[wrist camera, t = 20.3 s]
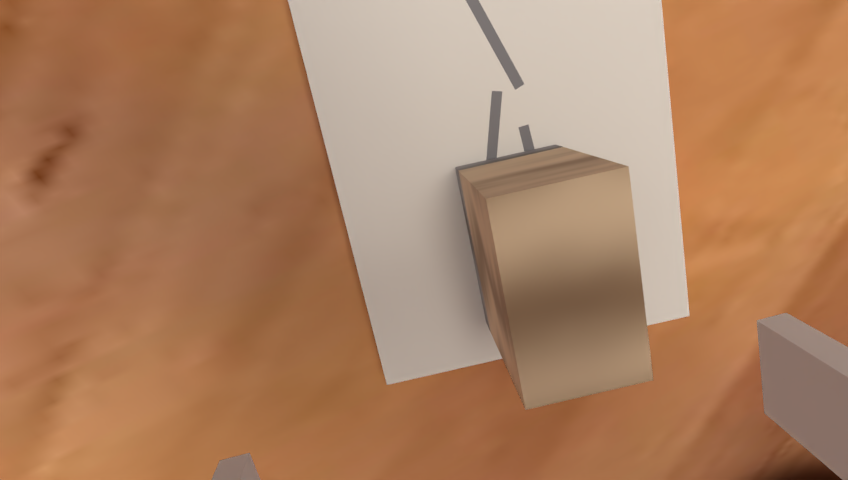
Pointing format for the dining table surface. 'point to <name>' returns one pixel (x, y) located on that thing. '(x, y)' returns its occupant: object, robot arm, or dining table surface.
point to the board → (480, 144)
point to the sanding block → (558, 271)
